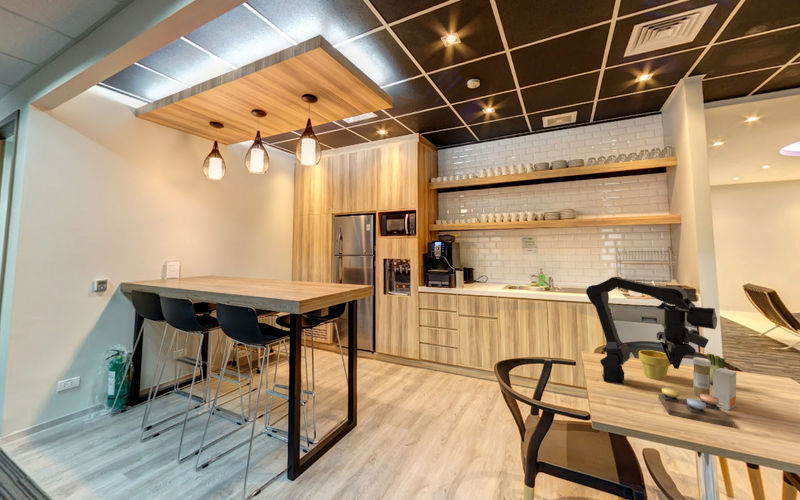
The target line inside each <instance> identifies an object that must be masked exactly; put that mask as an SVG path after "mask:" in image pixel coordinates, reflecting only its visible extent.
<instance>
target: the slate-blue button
mask: <svg viewBox="0 0 800 500" xmlns="http://www.w3.org/2000/svg"><path fill="white" fill-rule="evenodd" d="M686 399H687V404H688V405H689V406H691V407H692V408H693V409H695V410H701V409H706V404H705V403H704V402H702V401H700V400H701V399H700V400H699V399H696V398H686Z"/></svg>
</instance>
